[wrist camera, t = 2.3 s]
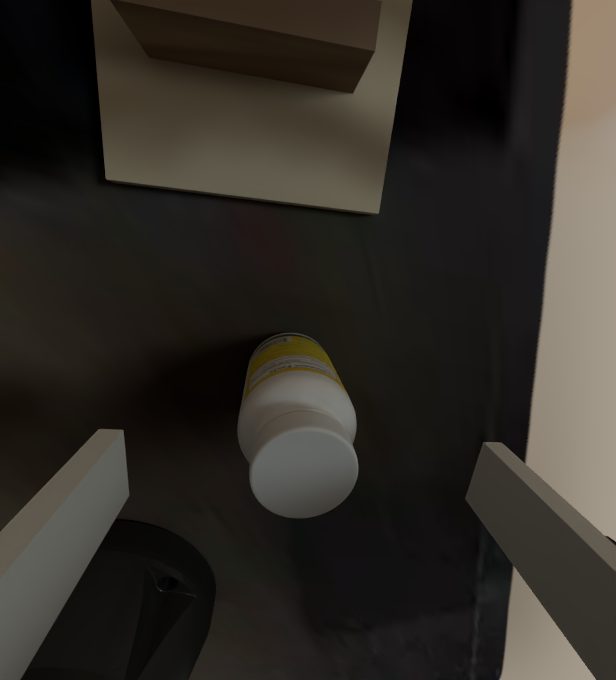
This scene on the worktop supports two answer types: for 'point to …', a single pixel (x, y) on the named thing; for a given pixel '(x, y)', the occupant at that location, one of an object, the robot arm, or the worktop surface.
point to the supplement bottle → (297, 428)
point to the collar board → (251, 97)
